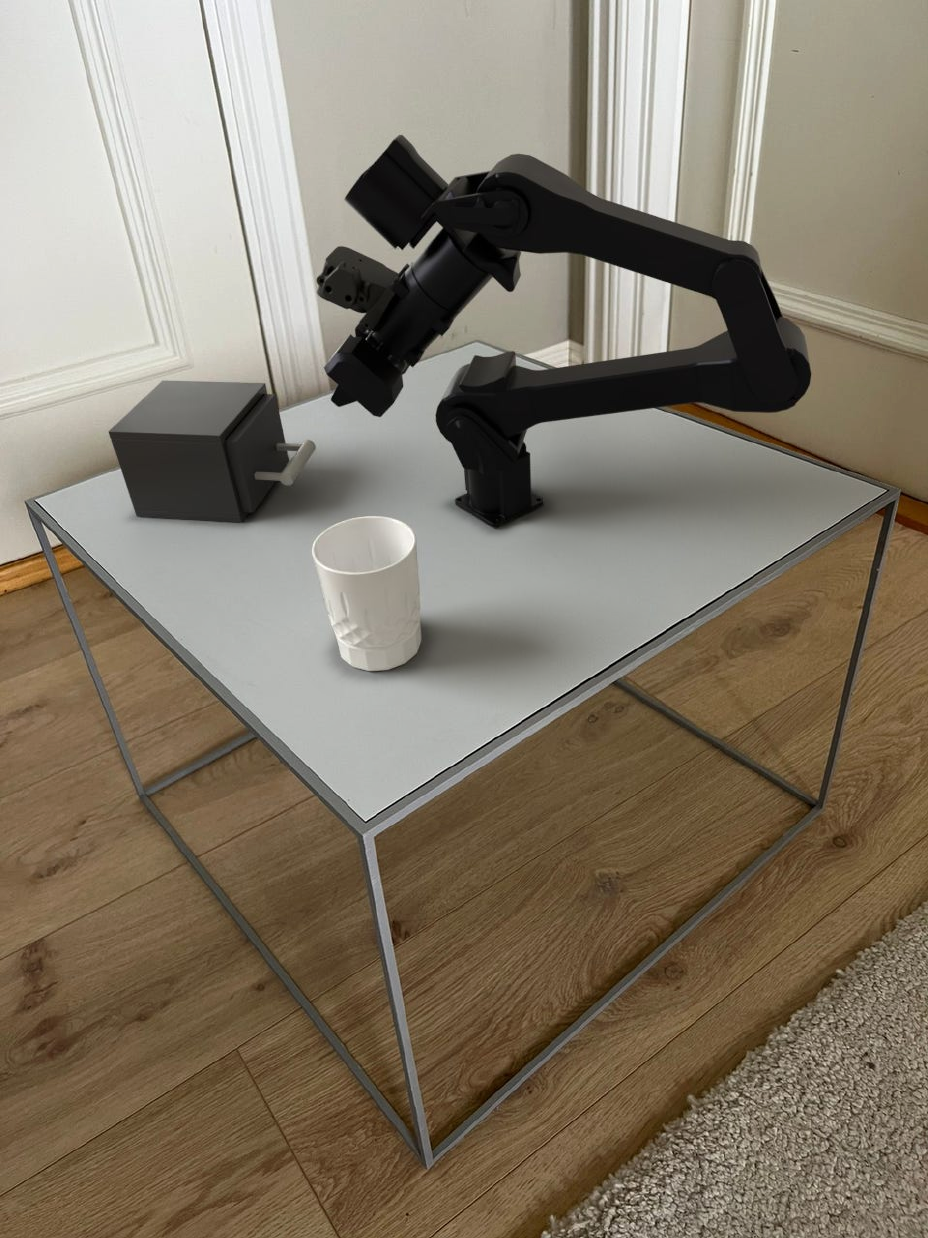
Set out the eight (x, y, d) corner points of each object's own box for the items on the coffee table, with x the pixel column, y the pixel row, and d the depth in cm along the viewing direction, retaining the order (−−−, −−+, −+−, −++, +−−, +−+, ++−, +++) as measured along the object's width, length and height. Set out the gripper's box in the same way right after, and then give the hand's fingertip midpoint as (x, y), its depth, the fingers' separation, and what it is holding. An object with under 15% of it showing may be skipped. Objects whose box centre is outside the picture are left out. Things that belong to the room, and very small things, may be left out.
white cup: (415, 681, 74) (401, 576, 67) (319, 673, 75) (297, 570, 69) (437, 618, 80) (426, 518, 73) (348, 612, 81) (330, 513, 75)
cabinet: (282, 465, 103) (265, 382, 97) (241, 522, 94) (219, 435, 88) (185, 461, 105) (162, 380, 99) (136, 516, 96) (108, 431, 90)
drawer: (325, 462, 101) (313, 394, 96) (292, 514, 93) (277, 443, 88) (200, 457, 104) (182, 391, 99) (157, 507, 96) (135, 437, 91)
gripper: (395, 187, 86) (301, 306, 95) (330, 253, 71) (228, 386, 81) (484, 275, 89) (386, 382, 98) (440, 355, 75) (329, 471, 84)
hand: (335, 402), depth 90 cm, fingers closed
